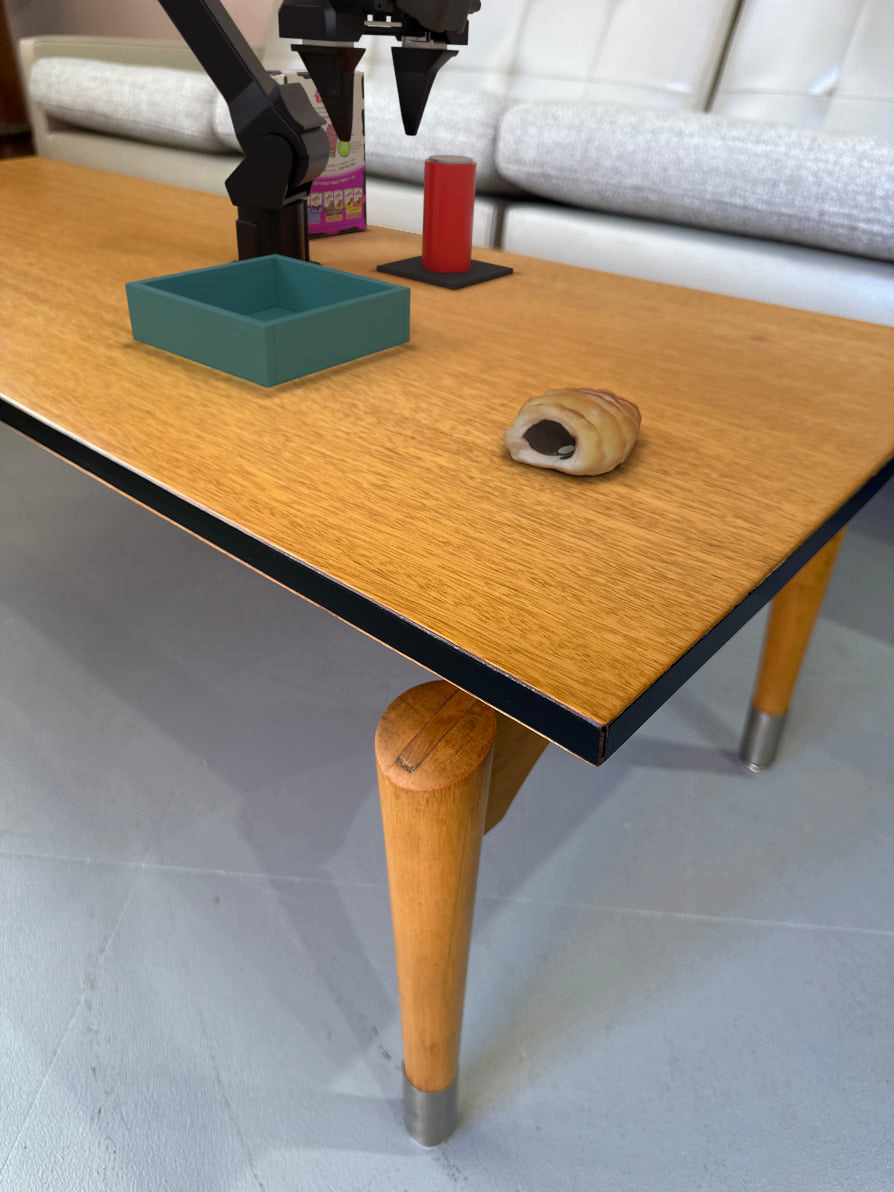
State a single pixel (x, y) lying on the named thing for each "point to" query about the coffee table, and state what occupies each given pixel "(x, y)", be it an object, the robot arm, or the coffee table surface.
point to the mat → (449, 280)
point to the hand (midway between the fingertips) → (379, 138)
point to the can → (448, 213)
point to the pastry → (574, 431)
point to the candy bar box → (336, 165)
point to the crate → (269, 317)
